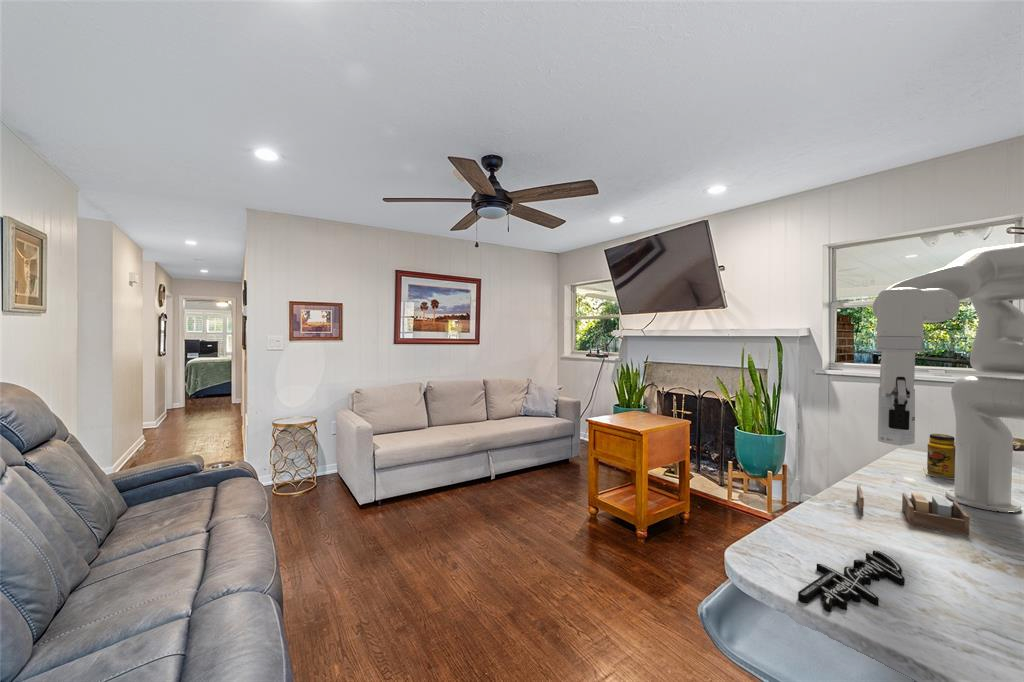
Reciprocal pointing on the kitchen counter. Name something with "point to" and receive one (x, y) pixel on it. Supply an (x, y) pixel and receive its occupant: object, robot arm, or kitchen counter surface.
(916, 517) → the walnut rack
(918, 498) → the oak offcut
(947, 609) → the kitchen counter surface
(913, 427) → the skincare box
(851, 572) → the nameplate
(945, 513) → the slate offcut
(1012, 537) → the kitchen counter surface
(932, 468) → the condiment
